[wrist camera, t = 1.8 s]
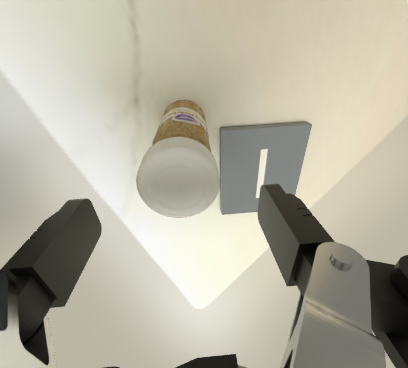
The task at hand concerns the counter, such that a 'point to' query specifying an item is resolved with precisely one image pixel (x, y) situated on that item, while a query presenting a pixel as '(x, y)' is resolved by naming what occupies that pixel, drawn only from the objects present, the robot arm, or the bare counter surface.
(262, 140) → the slate board
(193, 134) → the sprinkles bottle
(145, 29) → the counter surface
